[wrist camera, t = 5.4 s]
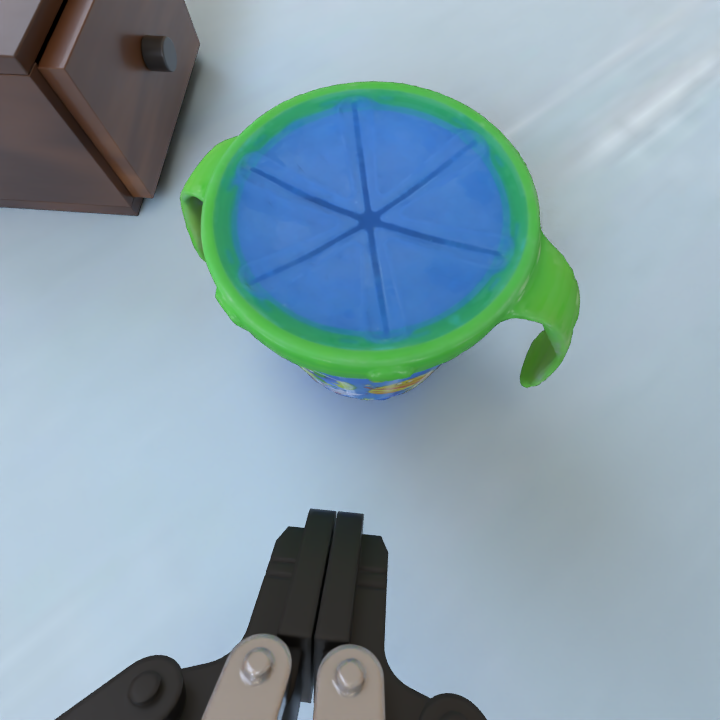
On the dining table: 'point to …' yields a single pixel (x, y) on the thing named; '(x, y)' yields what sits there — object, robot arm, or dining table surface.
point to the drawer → (123, 78)
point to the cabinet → (46, 129)
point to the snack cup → (378, 237)
